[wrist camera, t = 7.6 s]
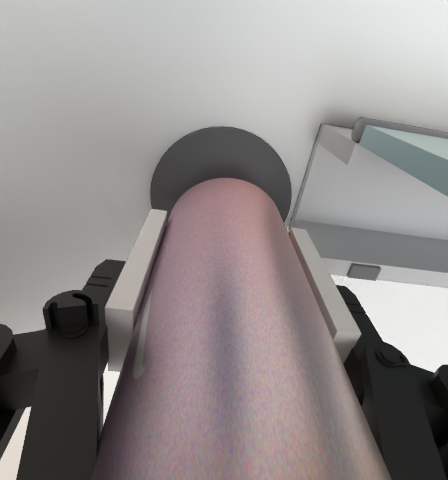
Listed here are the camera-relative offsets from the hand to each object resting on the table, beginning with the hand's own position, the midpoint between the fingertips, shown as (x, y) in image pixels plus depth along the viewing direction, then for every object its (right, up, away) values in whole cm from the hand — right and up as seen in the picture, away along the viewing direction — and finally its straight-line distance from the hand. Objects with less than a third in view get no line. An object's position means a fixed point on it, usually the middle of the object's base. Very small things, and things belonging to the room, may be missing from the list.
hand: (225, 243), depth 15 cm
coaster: (0, +3, +5) cm, 6 cm away
